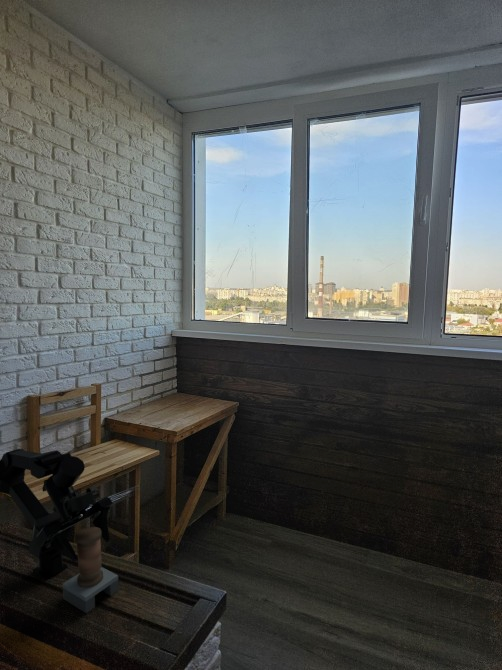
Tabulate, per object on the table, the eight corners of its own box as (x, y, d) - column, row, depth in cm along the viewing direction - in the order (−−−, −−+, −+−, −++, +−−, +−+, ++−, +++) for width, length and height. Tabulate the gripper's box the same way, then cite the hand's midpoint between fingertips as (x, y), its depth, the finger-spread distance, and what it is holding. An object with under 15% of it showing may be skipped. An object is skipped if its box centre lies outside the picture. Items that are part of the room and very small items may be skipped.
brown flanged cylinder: (72, 580, 106) (70, 534, 105) (95, 568, 111) (93, 524, 110) (85, 591, 103) (83, 543, 101) (107, 578, 107) (106, 532, 106)
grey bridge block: (63, 598, 106) (62, 583, 105) (95, 577, 113) (95, 563, 113) (86, 613, 101) (85, 597, 100) (118, 590, 109) (118, 575, 108)
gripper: (40, 494, 99) (71, 555, 94) (107, 466, 114) (137, 518, 109) (23, 517, 104) (52, 576, 99) (89, 488, 119) (117, 538, 114)
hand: (92, 550), depth 105 cm, fingers open, 9 cm apart
